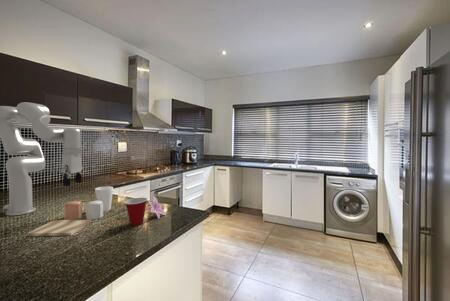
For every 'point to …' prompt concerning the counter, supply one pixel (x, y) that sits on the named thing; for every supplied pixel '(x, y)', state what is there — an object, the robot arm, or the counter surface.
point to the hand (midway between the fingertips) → (73, 184)
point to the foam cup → (104, 196)
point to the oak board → (59, 228)
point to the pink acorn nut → (72, 210)
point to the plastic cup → (136, 210)
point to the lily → (156, 207)
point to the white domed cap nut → (94, 210)
